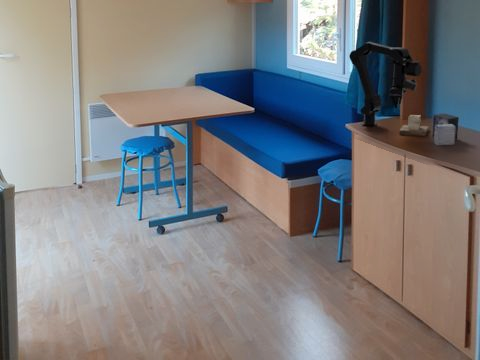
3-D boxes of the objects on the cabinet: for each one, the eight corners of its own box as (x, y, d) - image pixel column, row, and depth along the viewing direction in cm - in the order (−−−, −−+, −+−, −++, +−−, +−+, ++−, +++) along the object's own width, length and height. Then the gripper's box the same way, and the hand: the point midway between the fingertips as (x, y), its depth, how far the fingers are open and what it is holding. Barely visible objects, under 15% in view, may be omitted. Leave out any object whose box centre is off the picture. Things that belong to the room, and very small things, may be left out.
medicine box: (450, 142, 286) (452, 123, 283) (454, 144, 282) (455, 126, 279) (433, 143, 286) (434, 124, 283) (437, 145, 281) (438, 126, 279)
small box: (431, 136, 298) (432, 114, 295) (442, 134, 300) (443, 112, 297) (446, 141, 289) (448, 118, 285) (457, 139, 291) (459, 116, 288)
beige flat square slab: (403, 128, 314) (403, 124, 313) (428, 130, 309) (428, 126, 309) (399, 134, 303) (399, 130, 303) (424, 135, 299) (425, 131, 298)
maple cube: (409, 126, 309) (410, 114, 307) (420, 127, 307) (420, 115, 305) (408, 129, 304) (408, 116, 303) (418, 129, 303) (419, 117, 301)
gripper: (413, 78, 294) (411, 111, 299) (419, 72, 310) (417, 103, 315) (389, 77, 298) (387, 109, 303) (396, 71, 314) (394, 102, 319)
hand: (397, 106), depth 310 cm, fingers open, 9 cm apart
